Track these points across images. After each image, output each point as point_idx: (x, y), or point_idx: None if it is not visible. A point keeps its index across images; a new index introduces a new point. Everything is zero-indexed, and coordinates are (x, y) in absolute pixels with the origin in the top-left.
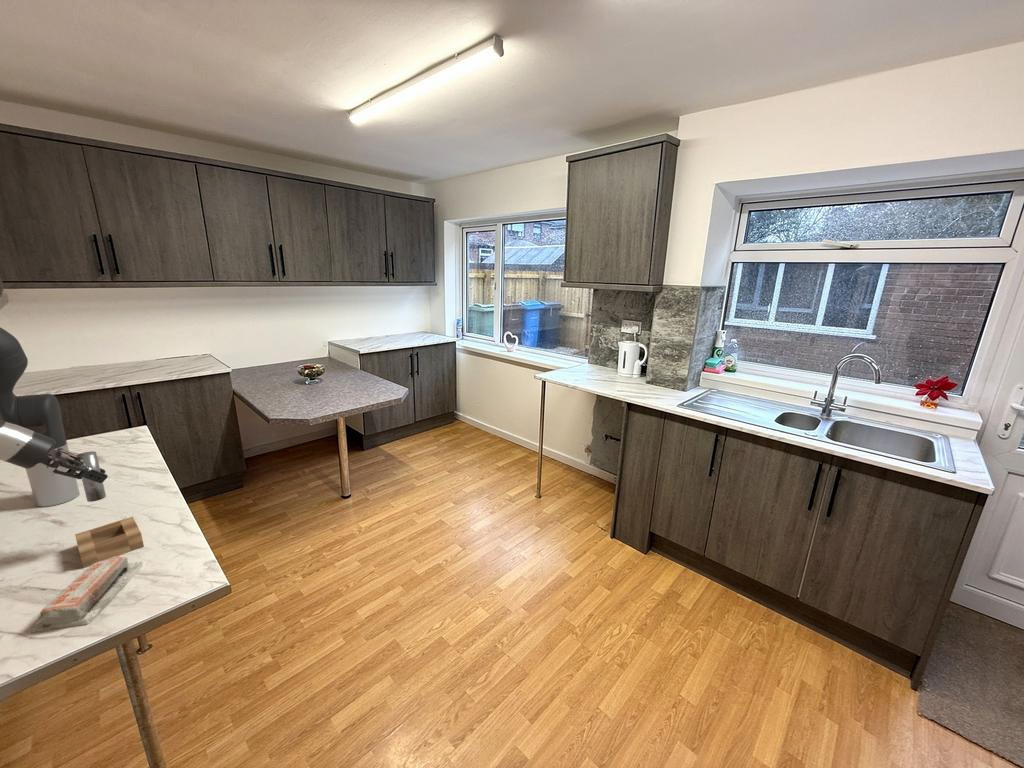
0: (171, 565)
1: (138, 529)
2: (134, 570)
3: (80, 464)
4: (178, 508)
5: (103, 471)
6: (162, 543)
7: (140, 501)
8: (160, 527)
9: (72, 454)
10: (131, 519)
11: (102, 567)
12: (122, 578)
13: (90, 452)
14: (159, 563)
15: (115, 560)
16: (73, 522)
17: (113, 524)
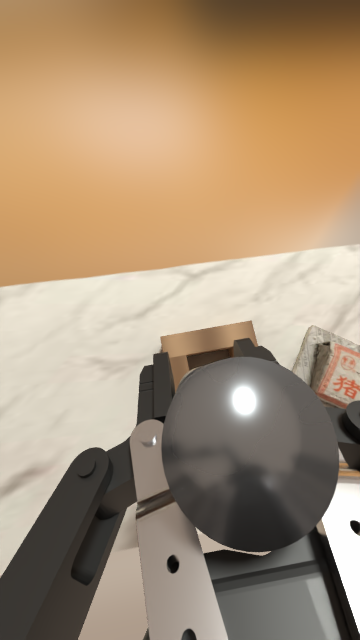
0: (332, 290)
1: (232, 325)
2: (335, 335)
3: (353, 470)
4: (120, 276)
5: (168, 358)
6: (248, 301)
7: (32, 337)
8: (183, 303)
9: (29, 591)
10: (173, 338)
11: (357, 374)
12: (353, 350)
13: (205, 411)
14: (315, 305)
15: (347, 355)
16: (44, 450)
17: (175, 369)
